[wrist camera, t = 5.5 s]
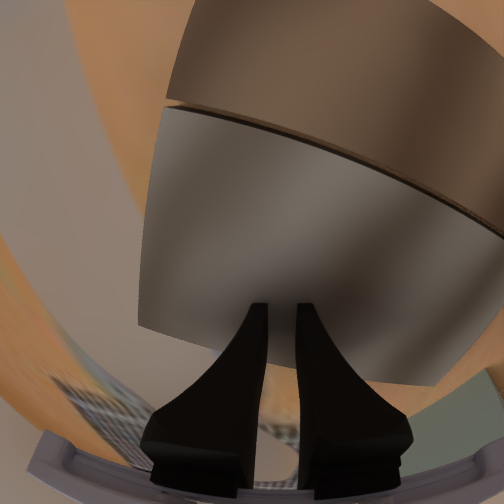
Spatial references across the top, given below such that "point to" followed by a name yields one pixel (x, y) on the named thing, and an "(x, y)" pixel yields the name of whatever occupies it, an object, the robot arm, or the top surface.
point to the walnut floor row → (359, 84)
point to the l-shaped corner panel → (455, 426)
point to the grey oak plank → (310, 250)
